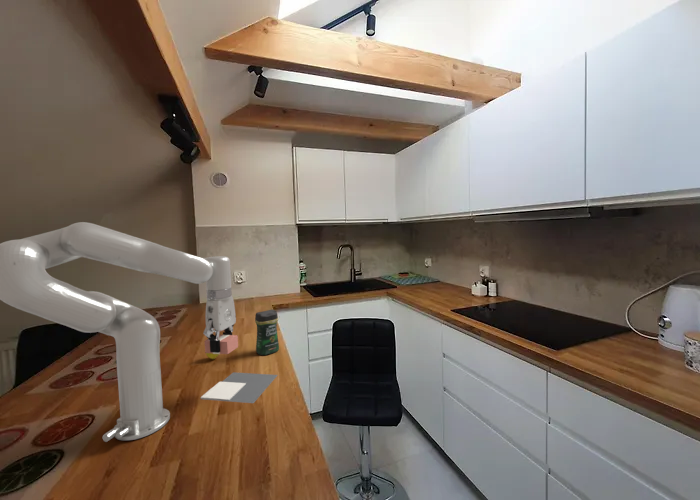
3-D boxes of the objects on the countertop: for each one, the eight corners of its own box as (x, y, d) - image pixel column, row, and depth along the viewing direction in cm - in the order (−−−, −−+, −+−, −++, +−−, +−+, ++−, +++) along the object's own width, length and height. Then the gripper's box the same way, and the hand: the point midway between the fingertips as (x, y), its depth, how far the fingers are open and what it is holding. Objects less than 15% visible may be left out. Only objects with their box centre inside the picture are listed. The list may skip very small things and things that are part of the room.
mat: (253, 404, 89) (253, 403, 88) (201, 400, 92) (200, 399, 92) (277, 376, 106) (277, 374, 106) (233, 373, 109) (233, 372, 109)
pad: (229, 400, 90) (229, 399, 90) (200, 398, 92) (200, 397, 92) (245, 384, 100) (245, 383, 100) (219, 382, 102) (219, 381, 102)
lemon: (204, 359, 123) (203, 341, 122) (217, 355, 127) (216, 337, 126) (209, 363, 119) (208, 344, 119) (222, 358, 123) (221, 340, 123)
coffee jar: (262, 357, 123) (260, 314, 122) (253, 352, 129) (251, 311, 128) (282, 350, 130) (280, 310, 129) (273, 346, 135) (271, 307, 135)
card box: (204, 353, 93) (204, 340, 93) (216, 345, 99) (216, 334, 99) (227, 354, 92) (226, 341, 92) (238, 346, 98) (237, 335, 98)
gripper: (212, 300, 85) (215, 359, 86) (243, 289, 102) (246, 339, 103) (190, 299, 87) (193, 358, 88) (224, 289, 104) (227, 338, 105)
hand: (221, 347), depth 95 cm, fingers closed on card box, 6 cm apart
